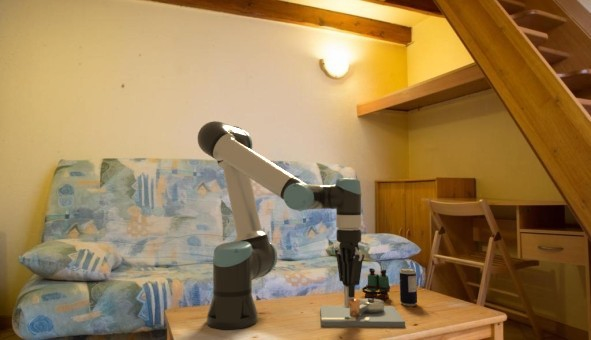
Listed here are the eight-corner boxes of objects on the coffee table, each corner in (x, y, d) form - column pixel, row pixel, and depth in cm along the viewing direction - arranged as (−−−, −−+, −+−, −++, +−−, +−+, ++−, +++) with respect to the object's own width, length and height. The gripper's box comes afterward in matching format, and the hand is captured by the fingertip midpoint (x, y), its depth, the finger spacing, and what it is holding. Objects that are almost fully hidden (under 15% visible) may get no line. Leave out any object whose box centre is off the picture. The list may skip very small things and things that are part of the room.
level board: (321, 326, 111) (321, 319, 111) (320, 310, 127) (320, 303, 127) (405, 326, 110) (405, 319, 110) (393, 310, 126) (393, 304, 126)
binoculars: (358, 273, 140) (368, 266, 148) (360, 302, 140) (370, 293, 148) (382, 275, 135) (391, 268, 143) (384, 305, 135) (393, 296, 143)
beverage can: (415, 302, 136) (414, 268, 137) (418, 306, 131) (417, 270, 132) (399, 301, 137) (398, 267, 138) (401, 306, 131) (400, 270, 132)
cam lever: (366, 304, 127) (366, 289, 128) (388, 308, 122) (388, 292, 123) (340, 315, 115) (340, 298, 116) (364, 320, 110) (363, 303, 111)
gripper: (371, 230, 113) (372, 311, 112) (347, 226, 125) (348, 300, 123) (350, 231, 110) (350, 315, 108) (327, 227, 121) (327, 303, 120)
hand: (349, 307), depth 116 cm, fingers closed
